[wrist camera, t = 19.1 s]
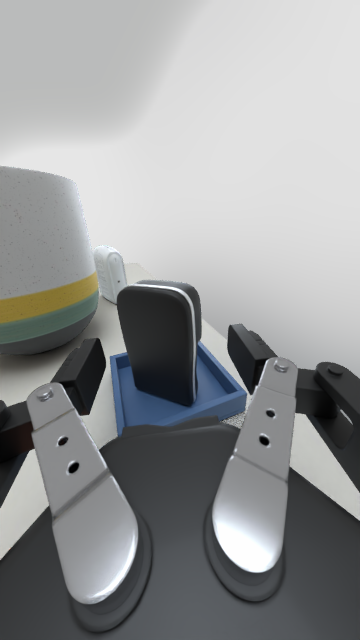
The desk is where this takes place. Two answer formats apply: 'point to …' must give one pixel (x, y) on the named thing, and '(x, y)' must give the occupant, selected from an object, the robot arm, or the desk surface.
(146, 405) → the blue tray
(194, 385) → the battery charger
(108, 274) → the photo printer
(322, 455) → the desk surface
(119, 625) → the robot arm
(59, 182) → the planter
